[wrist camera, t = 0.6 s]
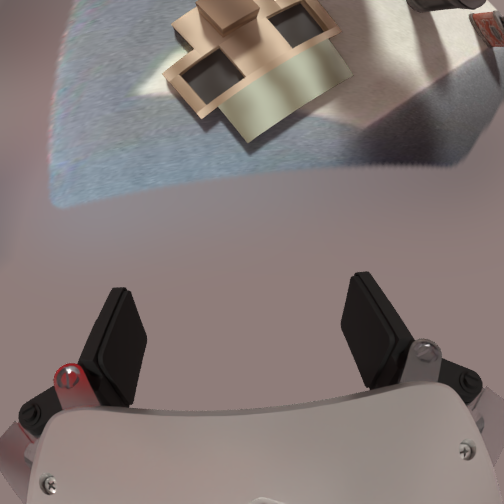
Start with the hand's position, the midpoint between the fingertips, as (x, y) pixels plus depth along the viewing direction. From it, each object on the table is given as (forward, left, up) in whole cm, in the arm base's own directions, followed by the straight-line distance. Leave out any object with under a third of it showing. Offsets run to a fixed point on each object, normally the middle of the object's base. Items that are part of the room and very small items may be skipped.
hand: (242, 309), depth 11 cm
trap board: (-12, -11, -28) cm, 32 cm away
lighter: (-56, +1, -28) cm, 63 cm away
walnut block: (-12, -17, -26) cm, 33 cm away
